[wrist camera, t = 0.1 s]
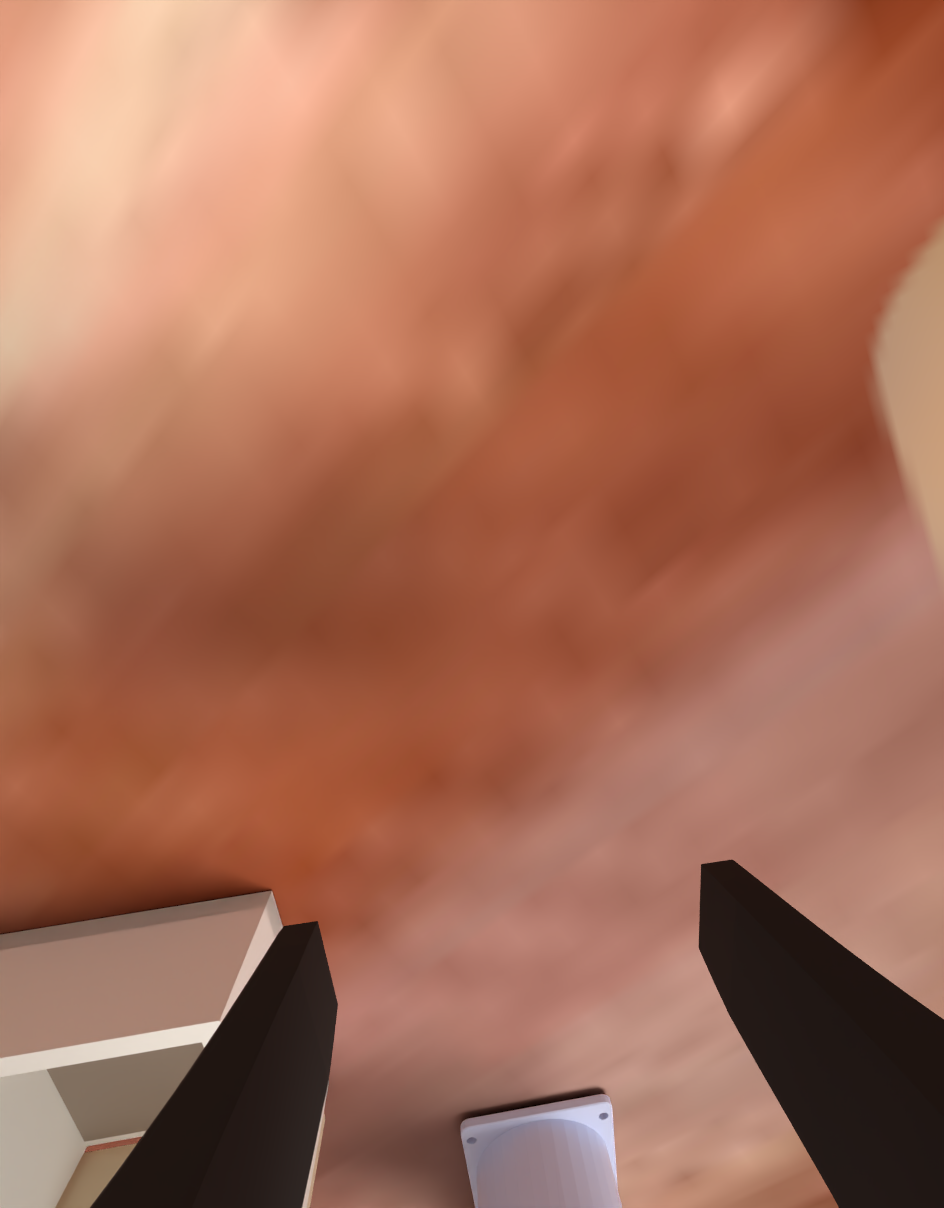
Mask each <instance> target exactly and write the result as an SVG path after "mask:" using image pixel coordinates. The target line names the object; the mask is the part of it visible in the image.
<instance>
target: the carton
mask: <svg viewBox="0 0 944 1208" xmlns="http://www.w3.org/2000/svg"><path fill="white" fill-rule="evenodd" d="M282 928H283V926H282V923H281V919H280V916H279V912H278V909H277V906H276V902H275V899H274V896H273V892H272V891H266V892H260V893H254V894H248V895H242V896H236V897H229V898H223V899H217V900H211V901H205V902H198V903H192V904H186V905H180V906H174V907H168V908H161V909H155V910H149V911H143V912H137V913H131V914H124V915H118V916H112V917H106V918H100V919H94V920H87V921H81V922H75V923H69V924H63V925H57V926H50V927H44V928H38V929H32V930H26V931H20V932H13V933H7V934H1V935H0V1208H55V1207H56V1205H57V1203H58V1201H59V1199H60V1198H61V1196H62V1194H63V1192H64V1190H65V1188H66V1186H67V1184H68V1182H69V1180H70V1178H71V1177H72V1175H73V1173H74V1171H75V1169H76V1167H77V1165H78V1163H79V1161H80V1159H81V1158H82V1156H83V1154H84V1152H85V1150H86V1148H87V1146H91V1145H97V1144H102V1143H108V1142H113V1141H119V1140H125V1139H130V1138H136V1137H141V1136H143V1135H144V1133H145V1132H146V1131H147V1129H148V1128H149V1126H150V1125H151V1124H152V1122H153V1121H154V1119H155V1118H156V1117H157V1115H158V1114H159V1112H160V1111H161V1110H162V1108H163V1107H164V1105H165V1104H166V1103H167V1101H168V1100H169V1099H170V1097H171V1096H172V1094H173V1093H174V1091H175V1090H176V1089H177V1087H178V1086H179V1084H180V1083H181V1081H182V1080H183V1078H184V1077H185V1076H186V1074H187V1073H188V1071H189V1070H190V1068H191V1067H192V1065H193V1064H194V1062H195V1061H196V1059H197V1058H198V1056H199V1055H200V1053H201V1052H202V1050H203V1049H204V1047H205V1046H206V1044H207V1043H208V1041H209V1040H210V1038H211V1037H212V1035H213V1034H214V1032H215V1031H216V1030H217V1028H218V1027H219V1025H220V1024H221V1022H222V1021H223V1019H224V1018H225V1016H226V1014H227V1013H228V1011H229V1010H230V1008H231V1007H232V1005H233V1004H234V1002H235V1001H236V999H237V997H238V996H239V994H240V993H241V991H242V990H243V988H244V987H245V985H246V984H247V982H248V980H249V979H250V977H251V976H252V974H253V973H254V971H255V969H256V968H257V966H258V965H259V963H260V961H261V960H262V958H263V957H264V955H265V954H266V952H267V950H268V949H269V947H270V946H271V944H272V942H273V941H274V939H275V938H276V936H277V935H278V933H279V932H280V930H281V929H282ZM328 1085H329V1081H328ZM327 1091H328V1086H327ZM327 1091H326V1096H325V1101H324V1105H323V1110H322V1115H321V1120H320V1125H319V1130H318V1134H317V1139H316V1144H315V1149H314V1154H313V1158H312V1163H311V1168H310V1173H309V1177H308V1182H307V1187H306V1191H305V1196H304V1201H303V1206H302V1208H307V1203H308V1197H309V1192H310V1186H311V1180H312V1175H313V1169H314V1164H315V1158H316V1153H317V1147H318V1141H319V1136H320V1130H321V1125H322V1119H323V1113H324V1108H325V1102H326V1097H327Z"/></svg>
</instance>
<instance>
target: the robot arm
mask: <svg viewBox="0 0 944 1208" xmlns="http://www.w3.org/2000/svg"><path fill="white" fill-rule="evenodd" d="M699 950H700V952H701V954H702V956H703V959H704V961H705V963H706V965H707V968H708V970H709V972H710V974H711V976H712V979H713V981H714V983H715V985H716V987H717V990H718V992H719V994H720V996H721V998H722V1000H723V1002H724V1004H725V1007H726V1009H727V1011H728V1013H729V1015H730V1017H731V1019H732V1020H733V1022H734V1024H735V1026H736V1028H737V1029H738V1031H739V1033H740V1035H741V1036H742V1038H743V1040H744V1042H745V1044H746V1045H747V1047H748V1049H749V1051H750V1052H751V1054H752V1056H753V1058H754V1059H755V1061H756V1063H757V1065H758V1066H759V1068H760V1070H761V1072H762V1073H763V1075H764V1077H765V1079H766V1080H767V1082H768V1084H769V1086H770V1087H771V1089H772V1091H773V1093H774V1094H775V1096H776V1098H777V1100H778V1101H779V1103H780V1105H781V1107H782V1108H783V1110H784V1112H785V1113H786V1115H787V1117H788V1119H789V1120H790V1122H791V1124H792V1126H793V1127H794V1129H795V1131H796V1133H797V1134H798V1136H799V1138H800V1140H801V1141H802V1143H803V1145H804V1147H805V1148H806V1150H807V1152H808V1153H809V1155H810V1157H811V1159H812V1160H813V1162H814V1164H815V1166H816V1167H817V1169H818V1171H819V1173H820V1174H821V1176H822V1178H823V1180H824V1181H825V1183H826V1185H827V1187H828V1188H829V1190H830V1192H831V1194H832V1195H833V1197H834V1199H835V1201H836V1203H837V1204H838V1206H839V1208H944V1019H942V1018H941V1017H939V1016H938V1015H937V1014H935V1013H934V1012H932V1011H931V1010H929V1009H928V1008H927V1007H925V1006H924V1005H922V1004H921V1003H919V1002H918V1001H917V1000H915V999H914V998H912V997H911V996H910V995H908V994H907V993H905V992H904V991H903V990H901V989H900V988H899V987H897V986H896V985H894V984H893V983H892V982H890V981H889V980H888V979H886V978H885V977H883V976H882V975H881V974H879V973H878V972H877V971H875V970H874V969H873V968H871V967H870V966H869V965H867V964H866V963H865V962H863V961H862V960H861V959H859V958H858V957H857V956H855V955H854V954H853V953H851V952H850V951H849V950H847V949H846V948H845V947H843V946H842V945H841V944H839V943H838V942H837V941H836V940H834V939H833V938H832V937H830V936H829V935H828V934H826V933H825V932H824V931H823V930H821V929H820V928H819V927H817V926H816V925H815V924H814V923H812V922H811V921H810V920H809V919H807V918H806V917H805V916H803V915H802V914H801V913H800V912H798V911H797V910H796V909H794V908H793V907H792V906H791V905H789V904H788V903H787V902H786V901H784V900H783V899H782V898H781V897H779V896H778V895H777V894H776V893H774V892H773V891H772V890H770V889H769V888H768V887H767V886H765V885H764V884H763V883H762V882H760V881H759V880H758V879H757V878H755V877H754V876H753V875H752V874H750V873H749V872H748V871H746V870H745V869H744V868H743V867H741V866H740V865H739V864H738V863H736V862H735V861H734V860H727V861H720V862H713V863H706V864H701V889H700V922H699ZM337 1007H338V1003H337V999H336V995H335V991H334V987H333V983H332V978H331V974H330V970H329V966H328V962H327V958H326V954H325V950H324V945H323V941H322V937H321V933H320V929H319V925H318V921H316V922H309V923H302V924H295V925H289V926H284V927H283V928H282V929H281V930H280V932H279V933H278V935H277V936H276V938H275V939H274V941H273V942H272V944H271V946H270V947H269V949H268V950H267V952H266V954H265V955H264V957H263V958H262V960H261V961H260V963H259V965H258V966H257V968H256V969H255V971H254V973H253V974H252V976H251V977H250V979H249V980H248V982H247V984H246V985H245V987H244V988H243V990H242V991H241V993H240V994H239V996H238V997H237V999H236V1001H235V1002H234V1004H233V1005H232V1007H231V1008H230V1010H229V1011H228V1013H227V1014H226V1016H225V1018H224V1019H223V1021H222V1022H221V1024H220V1025H219V1027H218V1028H217V1030H216V1031H215V1032H214V1034H213V1035H212V1037H211V1038H210V1040H209V1041H208V1043H207V1044H206V1046H205V1047H204V1049H203V1050H202V1052H201V1053H200V1055H199V1056H198V1058H197V1059H196V1061H195V1062H194V1064H193V1065H192V1067H191V1068H190V1070H189V1071H188V1073H187V1074H186V1076H185V1077H184V1078H183V1080H182V1081H181V1083H180V1084H179V1086H178V1087H177V1089H176V1090H175V1091H174V1093H173V1094H172V1096H171V1097H170V1099H169V1100H168V1101H167V1103H166V1104H165V1105H164V1107H163V1108H162V1110H161V1111H160V1112H159V1114H158V1115H157V1117H156V1118H155V1119H154V1121H153V1122H152V1124H151V1125H150V1126H149V1128H148V1129H147V1131H146V1132H145V1133H144V1135H143V1136H142V1137H141V1139H140V1140H139V1142H138V1143H137V1144H136V1146H135V1147H134V1149H133V1150H132V1151H131V1153H130V1154H129V1156H128V1157H127V1158H126V1160H125V1161H124V1163H123V1164H122V1165H121V1167H120V1168H119V1169H118V1171H117V1172H116V1173H115V1175H114V1176H113V1177H112V1179H111V1180H110V1181H109V1183H108V1184H107V1185H106V1187H105V1188H104V1189H103V1191H102V1192H101V1193H100V1195H99V1196H98V1197H97V1199H96V1200H95V1201H94V1203H93V1204H92V1205H91V1207H90V1208H302V1206H303V1201H304V1196H305V1191H306V1187H307V1182H308V1177H309V1173H310V1168H311V1163H312V1158H313V1154H314V1149H315V1144H316V1139H317V1134H318V1130H319V1125H320V1120H321V1115H322V1110H323V1105H324V1101H325V1096H326V1091H327V1086H328V1081H329V1073H330V1065H331V1058H332V1050H333V1042H334V1033H335V1024H336V1016H337ZM460 1128H461V1139H462V1144H463V1149H464V1154H465V1159H466V1164H467V1169H468V1174H469V1179H470V1184H471V1189H472V1194H473V1199H474V1204H475V1208H622V1204H621V1200H620V1197H619V1193H618V1187H617V1172H616V1157H615V1143H614V1128H613V1113H612V1105H611V1101H610V1098H609V1097H608V1096H607V1095H605V1094H598V1095H593V1096H587V1097H582V1098H577V1099H571V1100H566V1101H560V1102H555V1103H549V1104H544V1105H539V1106H533V1107H528V1108H522V1109H517V1110H511V1111H506V1112H500V1113H495V1114H490V1115H484V1116H479V1117H473V1118H468V1119H465V1120H464V1121H463V1122H462V1123H461V1127H460Z"/></svg>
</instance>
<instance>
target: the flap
mask: <svg viewBox="0 0 944 1208" xmlns="http://www.w3.org/2000/svg"><path fill="white" fill-rule="evenodd" d="M324 1123H325V1115H324V1113H323V1119H322V1125H321V1130H320V1136H319V1141H318V1147H317V1153H316V1158H315V1164H314V1169H313V1175H312V1180H311V1186H310V1192H309V1197H308V1203H307V1208H310V1204H311V1198H312V1192H313V1186H314V1181H315V1175H316V1169H317V1163H318V1158H319V1152H320V1146H321V1140H322V1135H323V1129H324ZM136 1144H137V1143H136ZM136 1144H130V1145H125V1146H119V1147H114V1148H108V1149H103V1150H97V1151H91V1152H86V1153H84V1154H83V1156H82V1158H81V1159H80V1161H79V1163H78V1165H77V1167H76V1169H75V1171H74V1173H73V1175H72V1177H71V1178H70V1180H69V1182H68V1184H67V1186H66V1188H65V1190H64V1192H63V1194H62V1196H61V1198H60V1199H59V1201H58V1203H57V1205H56V1207H55V1208H90V1207H91V1205H92V1204H93V1203H94V1201H95V1200H96V1199H97V1197H98V1196H99V1195H100V1193H101V1192H102V1191H103V1189H104V1188H105V1187H106V1185H107V1184H108V1183H109V1181H110V1180H111V1179H112V1177H113V1176H114V1175H115V1173H116V1172H117V1171H118V1169H119V1168H120V1167H121V1165H122V1164H123V1163H124V1161H125V1160H126V1158H127V1157H128V1156H129V1154H130V1153H131V1151H132V1150H133V1149H134V1147H135V1146H136Z"/></svg>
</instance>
